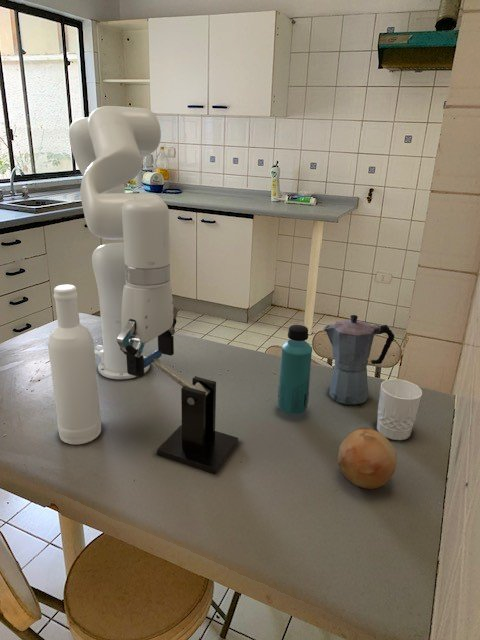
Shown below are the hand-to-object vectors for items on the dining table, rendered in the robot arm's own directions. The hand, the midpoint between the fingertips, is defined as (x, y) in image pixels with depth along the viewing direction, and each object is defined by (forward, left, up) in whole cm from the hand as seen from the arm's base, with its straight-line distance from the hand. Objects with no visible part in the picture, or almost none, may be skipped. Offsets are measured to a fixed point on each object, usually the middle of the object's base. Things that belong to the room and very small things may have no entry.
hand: (151, 363), depth 85 cm
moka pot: (+32, +33, -16) cm, 49 cm away
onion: (+40, +5, -16) cm, 43 cm away
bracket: (+10, 0, -16) cm, 18 cm away
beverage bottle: (+22, +20, -16) cm, 34 cm away
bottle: (-13, -6, -16) cm, 21 cm away
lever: (+5, 0, -3) cm, 5 cm away
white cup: (+43, +23, -16) cm, 51 cm away
